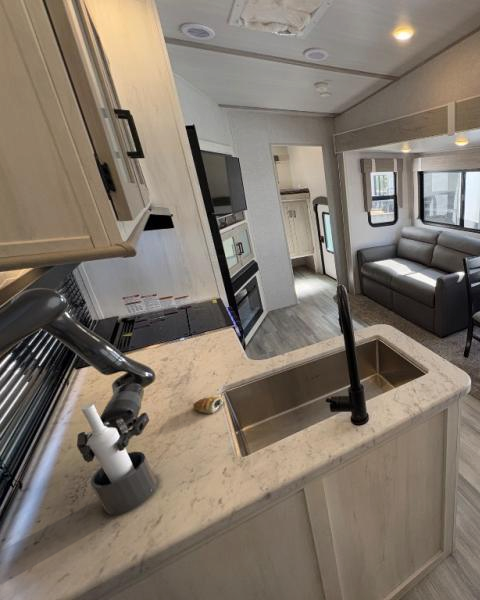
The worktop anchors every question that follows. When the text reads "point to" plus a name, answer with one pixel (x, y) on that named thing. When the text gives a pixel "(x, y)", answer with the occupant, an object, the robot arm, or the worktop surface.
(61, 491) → the worktop surface
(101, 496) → the bowl
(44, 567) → the worktop surface
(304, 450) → the worktop surface
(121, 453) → the bottle
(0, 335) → the robot arm
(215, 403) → the pastry
